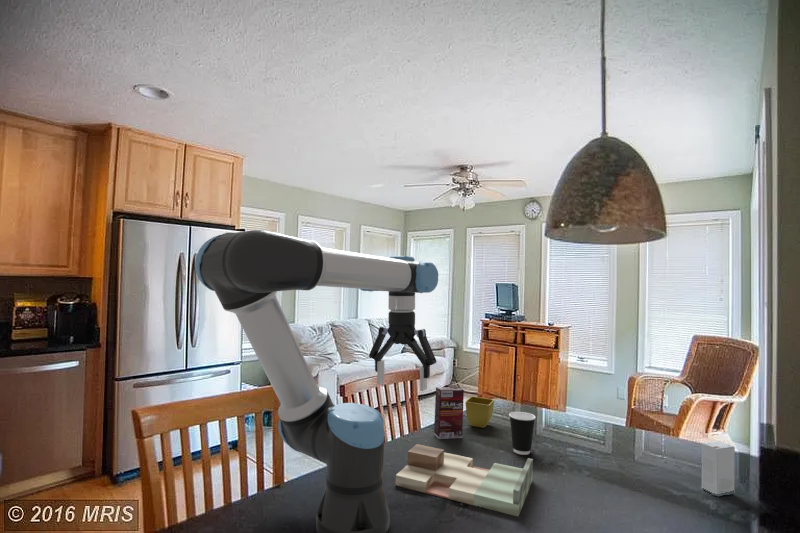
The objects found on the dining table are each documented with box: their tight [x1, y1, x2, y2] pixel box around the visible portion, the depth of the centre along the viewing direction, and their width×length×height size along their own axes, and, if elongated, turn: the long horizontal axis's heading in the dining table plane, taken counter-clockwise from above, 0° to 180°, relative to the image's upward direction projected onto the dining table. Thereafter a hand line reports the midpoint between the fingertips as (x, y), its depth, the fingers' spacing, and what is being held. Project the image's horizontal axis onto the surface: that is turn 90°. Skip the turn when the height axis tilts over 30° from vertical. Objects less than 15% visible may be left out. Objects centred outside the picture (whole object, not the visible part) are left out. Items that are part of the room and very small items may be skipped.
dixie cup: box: [508, 411, 537, 456], centre depth 132 cm, size 8×8×11 cm
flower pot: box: [465, 396, 495, 429], centre depth 156 cm, size 9×9×9 cm
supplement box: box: [433, 386, 465, 440], centre depth 143 cm, size 9×5×16 cm, turn 105°
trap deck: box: [395, 452, 534, 517], centre depth 109 cm, size 20×30×6 cm, turn 64°
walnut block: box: [406, 443, 445, 471], centre depth 114 cm, size 6×8×4 cm
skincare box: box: [701, 441, 736, 494], centre depth 108 cm, size 6×4×12 cm
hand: (401, 386), depth 120 cm, fingers open, 13 cm apart
